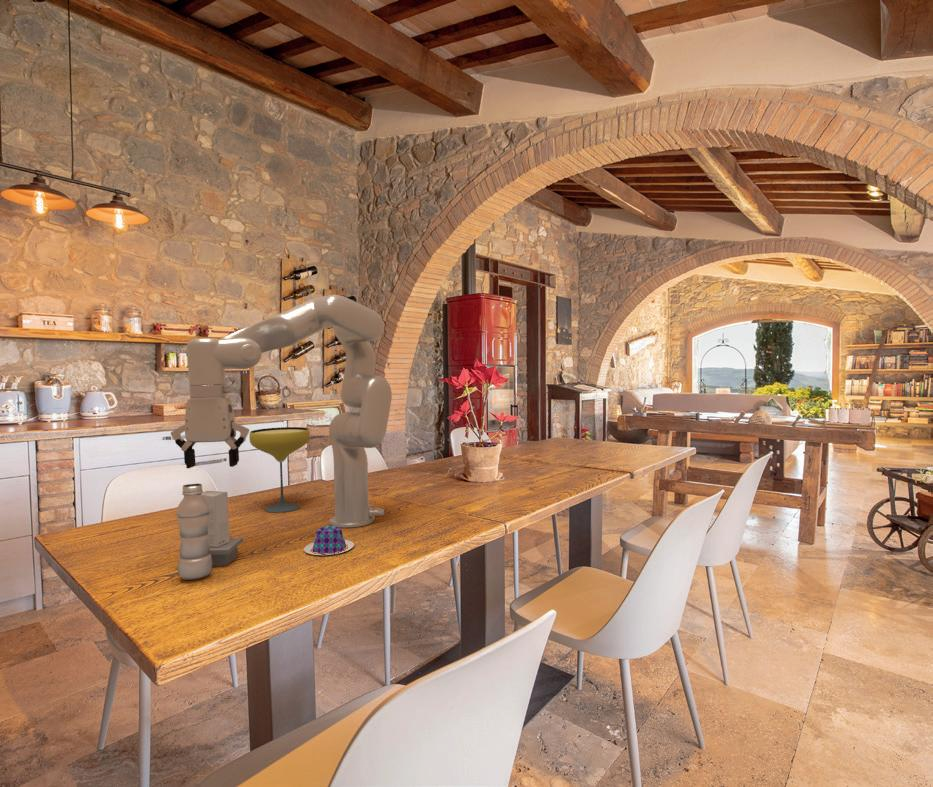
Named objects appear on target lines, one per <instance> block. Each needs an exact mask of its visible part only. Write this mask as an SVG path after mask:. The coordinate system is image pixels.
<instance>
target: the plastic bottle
mask: <svg viewBox="0 0 933 787" xmlns="http://www.w3.org/2000/svg"><path fill="white" fill-rule="evenodd" d="M203 492H204V490H203V484H202V483H187V484H184V485H182V494H181V495H182V496H183V498H182V499H181V501H180V502H179V504H178V505H177V507H176V512H175V513H176V514H175V515H176V517H177V518H176V520H177V523H178V524H177V525H178V531H179V536H180V538H179V539H180V541H179V542H180V545H179V547H180V548H179V558H178V563H177V571H178V575H179V576H180V578H181V579H182V580H187V581H188V580H189V581H190V580H191V581H192V580H199V579H202V578H205V577H207V576H209V575H210V574H211V572H212V570H213V569H212V568H213V566H212V564H213V563H212V557H211V554H210V548H209V540H208V532H209V519H210V509H211V508H210V505H209V503H208V502H207V501H206V499H205V498H204V497H203V496H202V493H203Z"/></svg>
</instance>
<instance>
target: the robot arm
mask: <svg viewBox="0 0 933 787" xmlns="http://www.w3.org/2000/svg"><path fill="white" fill-rule="evenodd" d="M329 328H332V329H333V333H334V336H335V337H336V338H337V340H338V342H340V344H341V346H342V347H343V350H344V353H345V367H344V372H343V377H342V384H341V390H340V398H341V399H340V400H341V401H342V404H344V405H345V406H347V407H350V408H353V409H354V408H355V409H360V412H355V411H353V412H351V411H346V412H345V411H344V412H340V413H339V414H337V415H335V416H334V417H333V418H332V420H331V421H330V423H329V428H328V429H329V430H328V431H329V438H330V444H331V447H332V454H333V455H332V456H333V457H332V458H333V482H334V483H333V485H334V488H333V489H334V491H333V492H334V515H333V516H331V517H330V518H329V524H330V526H338V527H339V528H358V527H364V526H367V525H370V524H372V523H374V522H375V516H378V517H379V516H380V517H381V516H385V509H384V508H381V507H374V506H372V503H369V476H368V475H369V471H368V470H369V469H368V467H369V464H368V457H367V456H368V455H367V452H366V449H373V448H375V447H377V446H378V447H379V446H380V444H381V443H382V442H383V440H384V439H385V436H386V433H387V429H388V425H389V424H388V422H389V417H390V412H391V411H390V410H391V406H392V396H393V395H392V393H393V392H392V388H391V386H390V383H389V381H388V380H387V379H386V378H385V377H383V376H381V375H377V374H375V373H376V362H377V361H376V360H377V359H376V352H375V351H374V350H375V349H374V348H373V346H372V344H371V343H370V342H374V341H376V340H379V338H381V336H382V335H383V333H384V330H385V323H384V320H383V318H382V316H381V315H380V314H379V313H378V312H377V311H376V310H373V309H371V308H370V307H367V306H365V305H363V304H361V303H359V302H357V301H355V300H353V299H350V298H348V297H346V296H343V295H339V294H330V295H322V296H317V297H312V298H311V299H308V300H305V301H304V302H302V303H300V304H298V305H296V306H293V307H291V308H289V309H288V310H287V309H286V310H285V311H282V312H279V313H278V314H275V315H273V316H271V317H269V318H266V319H263V320H261V321H258V322H257V323H254V324H251V325H248V326H246V327H243V328H241V329H239V330H236V331H235V332H232V333H230V334H228V335H226V336H224V337H221V338H213V337H212V338H211V337H209V338H208V337H206V338H205V337H203V338H202V337H198V338H197V337H196V338H191V339H190V340H189V341H188V342H187V343H186V347H187V348H186V352H187V353H186V355H187V370H188V384H189V387H188V388H189V399H186V400H187V401H186V405H185V411H184V412H185V414H184V424H183V425H182V426H179V427H178V428H176V429H174V430H172V431H171V432H170V436H171V437H172V439H173V440H174V442H175V444H176V445H177V446H178V447H179V448H180V450H181V451H182V452H183V458H184V464H185V465H186V466H185V467H186V469H191V468H193V467H195V466H196V464H197V463H196V452H195V451H196V450H195V448H193V447H194V446H195V444H196V443H221V442H225V443H226V444H227V445H228V446H229V447H230V448H229V450H228V463H229V464H228V465H229V467H232V468H234V467H235V466H238V463H239V461H240V455H239V454H240V453H239V452H240V451H239V448H240V447H241V446H242V445H243V444H244V442H246V439H247V437H248V435H249V434H250V429H249V428H248V427H245V426H244V425H241V424H239V423H237V422H236V419H235V412H234V408H233V407H234V406H233V403H232V400H231V397H227V395H228V394H230V393H232V392H233V388H232V386H228V385H227V383H226V371H225V370H249V369H251V368H254V367H255V366H257V364H259V363H260V360H261V359H262V354H264V353H266V352H270V351H275V350H280V349H284V348H287V347H288V348H289V347H291V346H294V345H296V344H298V343H300V342H302V341H304V340H305V339H307V338H309V337H310V336H313V335H314V334H317V333H319V332H321V331H323V330H325V329H329ZM237 432H239V433H240V434H239V437H238V438H237V439H236V437H237ZM182 433H184V436H185V439H183V437H182V435H181V434H182Z"/></svg>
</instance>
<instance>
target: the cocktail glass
mask: <svg viewBox="0 0 933 787" xmlns="http://www.w3.org/2000/svg"><path fill="white" fill-rule="evenodd" d="M310 434H311V433H310V429H309V428H308V427H301V426H300V427H298V426H293V427H290V426H289V427H288V426H286V427H284V426H283V427H270V428H268V427H267V428H260V429H255V430H251V431H249V443H250V444H251V446H252V447H254V448H255V449H257V450H259V451H261V452H263V453H266V454H268V455H270V456H272V457H273V458H274V459H275V461H276V462H278V463H279V469H280V470H279V474H280V475H279V476H280V477H279V478H280V499H279V503H277V504H276V503H275V504H271V505H269V506H266V507H264V511H265V512H266V511H267V513H271V512H272V513H271V514H273V513H274V514H277V513H279V514H280V512H281V513H289V512H293V511H296V510H299V509H300V508H301V505H300V504H299V503H294V502H293V503H292V502H286V501H285V495H284V486H283V484H284V483H283V482H284V481H283V462H285V461H286V460H287V458H288V457H289V456H290V455H291V454H292V453H294V452H296V451H298V450H299V449H301V448H302V447H304V446H305V445H306V444H307V443H308V442H309V441H310V437H311V435H310Z"/></svg>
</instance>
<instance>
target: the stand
mask: <svg viewBox="0 0 933 787" xmlns="http://www.w3.org/2000/svg"><path fill="white" fill-rule="evenodd" d="M229 538H230V542H229V543H226V544H224V545H222V546H219V547H209V548H210V554H211V557H212V563H213V564H212V567H226V566H228V565H229V564H230V563H232V561H234V560H235V558H237V557H238V554H239V552H238V546H239V545H241V544H242V543H243V542H244V537H229Z"/></svg>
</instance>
